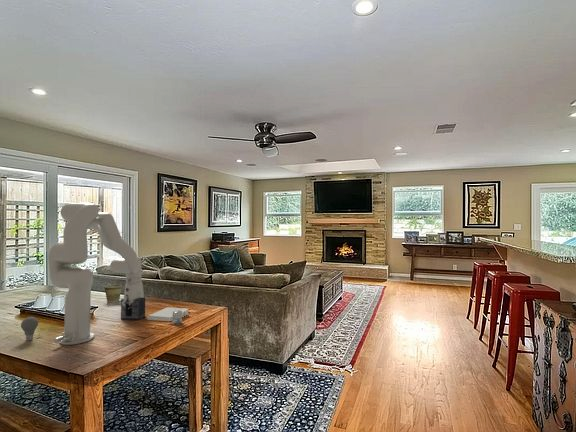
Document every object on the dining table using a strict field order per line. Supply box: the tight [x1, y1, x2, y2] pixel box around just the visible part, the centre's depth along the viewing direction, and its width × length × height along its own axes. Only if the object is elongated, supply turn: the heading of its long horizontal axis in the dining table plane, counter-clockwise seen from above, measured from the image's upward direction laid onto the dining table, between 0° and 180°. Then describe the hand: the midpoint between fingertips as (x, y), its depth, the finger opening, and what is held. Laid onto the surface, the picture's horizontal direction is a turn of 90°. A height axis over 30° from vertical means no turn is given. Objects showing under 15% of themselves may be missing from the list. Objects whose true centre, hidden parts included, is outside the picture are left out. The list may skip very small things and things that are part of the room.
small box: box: [120, 297, 146, 321], centre depth 174 cm, size 11×6×10 cm, turn 84°
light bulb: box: [20, 316, 39, 341], centre depth 142 cm, size 6×6×10 cm
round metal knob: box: [172, 311, 183, 326], centre depth 165 cm, size 4×4×6 cm
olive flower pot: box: [104, 283, 123, 304], centre depth 211 cm, size 13×10×10 cm
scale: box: [146, 306, 190, 322], centre depth 178 cm, size 18×17×3 cm
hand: (133, 313), depth 174 cm, fingers closed on small box, 6 cm apart
